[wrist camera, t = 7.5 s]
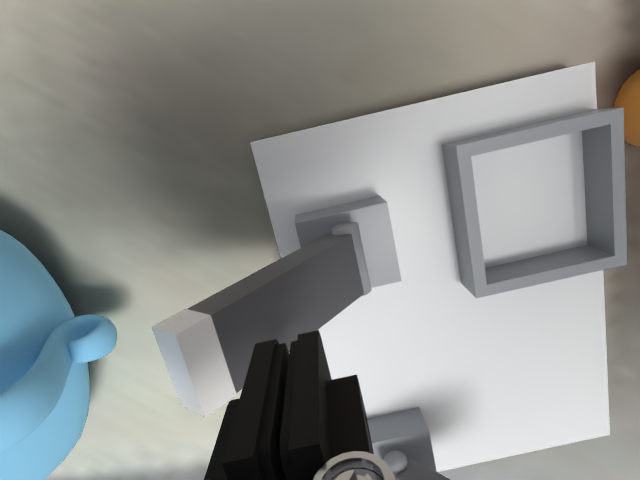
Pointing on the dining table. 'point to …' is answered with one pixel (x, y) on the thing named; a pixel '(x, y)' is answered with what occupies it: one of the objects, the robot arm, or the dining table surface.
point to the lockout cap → (630, 108)
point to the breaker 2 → (409, 468)
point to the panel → (468, 261)
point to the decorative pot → (42, 366)
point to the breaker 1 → (260, 316)
